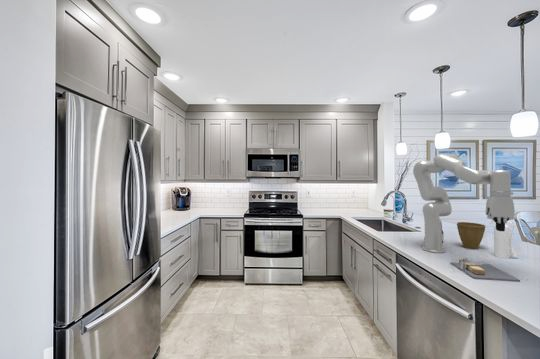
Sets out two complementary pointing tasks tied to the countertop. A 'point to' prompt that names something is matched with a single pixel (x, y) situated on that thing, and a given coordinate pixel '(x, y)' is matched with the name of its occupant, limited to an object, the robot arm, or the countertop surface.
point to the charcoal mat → (488, 273)
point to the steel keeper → (463, 264)
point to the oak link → (473, 267)
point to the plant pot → (470, 234)
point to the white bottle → (503, 242)
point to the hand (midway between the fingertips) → (500, 230)
